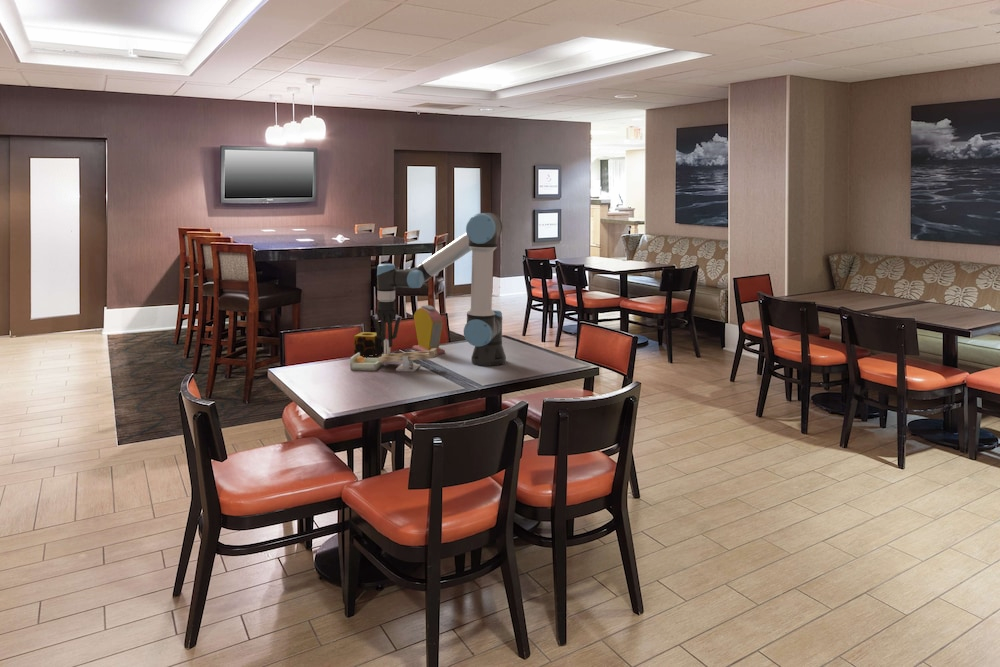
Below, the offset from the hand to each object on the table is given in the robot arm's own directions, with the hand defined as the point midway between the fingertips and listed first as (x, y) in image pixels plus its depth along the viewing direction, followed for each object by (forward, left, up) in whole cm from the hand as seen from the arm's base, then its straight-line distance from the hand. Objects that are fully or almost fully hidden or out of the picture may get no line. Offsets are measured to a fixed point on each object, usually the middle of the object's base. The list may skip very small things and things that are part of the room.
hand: (387, 354), depth 322 cm
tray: (+7, +7, -4) cm, 11 cm away
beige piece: (-11, +4, -1) cm, 11 cm away
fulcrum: (-11, +7, -4) cm, 14 cm away
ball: (+10, +7, -1) cm, 12 cm away
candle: (+13, -15, -5) cm, 20 cm away
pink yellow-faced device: (-12, -27, -4) cm, 30 cm away
